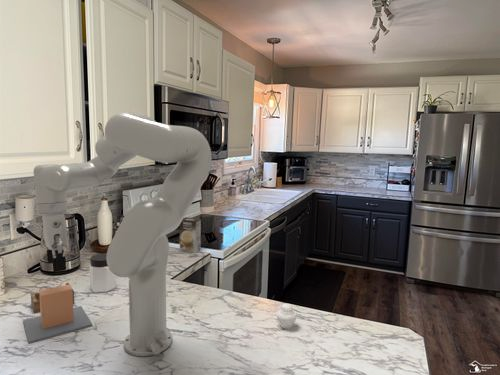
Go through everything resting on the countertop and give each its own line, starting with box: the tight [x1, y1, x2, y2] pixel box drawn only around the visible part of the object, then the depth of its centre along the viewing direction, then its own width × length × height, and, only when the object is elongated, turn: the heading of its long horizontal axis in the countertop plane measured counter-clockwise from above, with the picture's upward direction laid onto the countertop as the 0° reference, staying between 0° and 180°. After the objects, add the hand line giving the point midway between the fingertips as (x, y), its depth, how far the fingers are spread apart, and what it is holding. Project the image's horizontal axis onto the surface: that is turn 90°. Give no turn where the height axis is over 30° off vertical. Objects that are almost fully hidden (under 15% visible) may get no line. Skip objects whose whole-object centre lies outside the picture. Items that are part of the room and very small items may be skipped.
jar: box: [88, 252, 117, 294], centre depth 129 cm, size 9×8×12 cm
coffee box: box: [179, 216, 202, 254], centre depth 176 cm, size 9×6×16 cm
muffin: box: [275, 303, 298, 330], centre depth 106 cm, size 6×6×7 cm
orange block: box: [38, 284, 74, 329], centre depth 104 cm, size 4×8×10 cm, turn 127°
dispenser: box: [30, 282, 75, 314], centre depth 117 cm, size 8×12×5 cm
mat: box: [22, 305, 93, 344], centre depth 104 cm, size 14×16×1 cm
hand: (56, 266), depth 102 cm, fingers open, 9 cm apart
